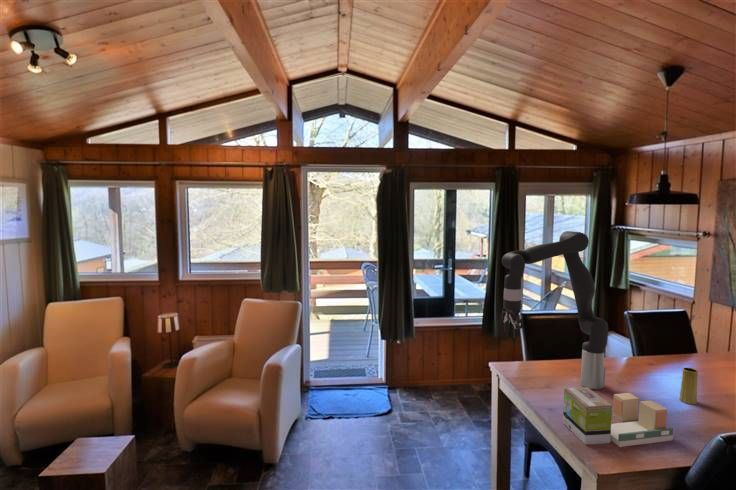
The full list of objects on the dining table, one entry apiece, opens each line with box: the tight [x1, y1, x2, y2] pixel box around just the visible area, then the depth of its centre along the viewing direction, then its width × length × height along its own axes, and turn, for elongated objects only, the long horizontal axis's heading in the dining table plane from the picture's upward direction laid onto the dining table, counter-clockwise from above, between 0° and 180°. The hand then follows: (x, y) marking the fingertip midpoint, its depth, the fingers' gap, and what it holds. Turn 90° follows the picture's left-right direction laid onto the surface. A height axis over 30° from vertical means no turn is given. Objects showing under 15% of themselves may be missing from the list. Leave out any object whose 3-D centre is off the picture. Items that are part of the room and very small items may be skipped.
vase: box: [679, 367, 699, 405], centre depth 181 cm, size 6×6×14 cm
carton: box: [612, 392, 640, 423], centre depth 168 cm, size 5×7×9 cm
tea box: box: [562, 386, 613, 445], centre depth 156 cm, size 15×10×15 cm, turn 5°
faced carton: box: [637, 400, 668, 430], centre depth 156 cm, size 5×7×9 cm
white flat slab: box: [610, 420, 674, 448], centre depth 155 cm, size 22×11×4 cm, turn 101°
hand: (511, 334), depth 186 cm, fingers open, 8 cm apart
